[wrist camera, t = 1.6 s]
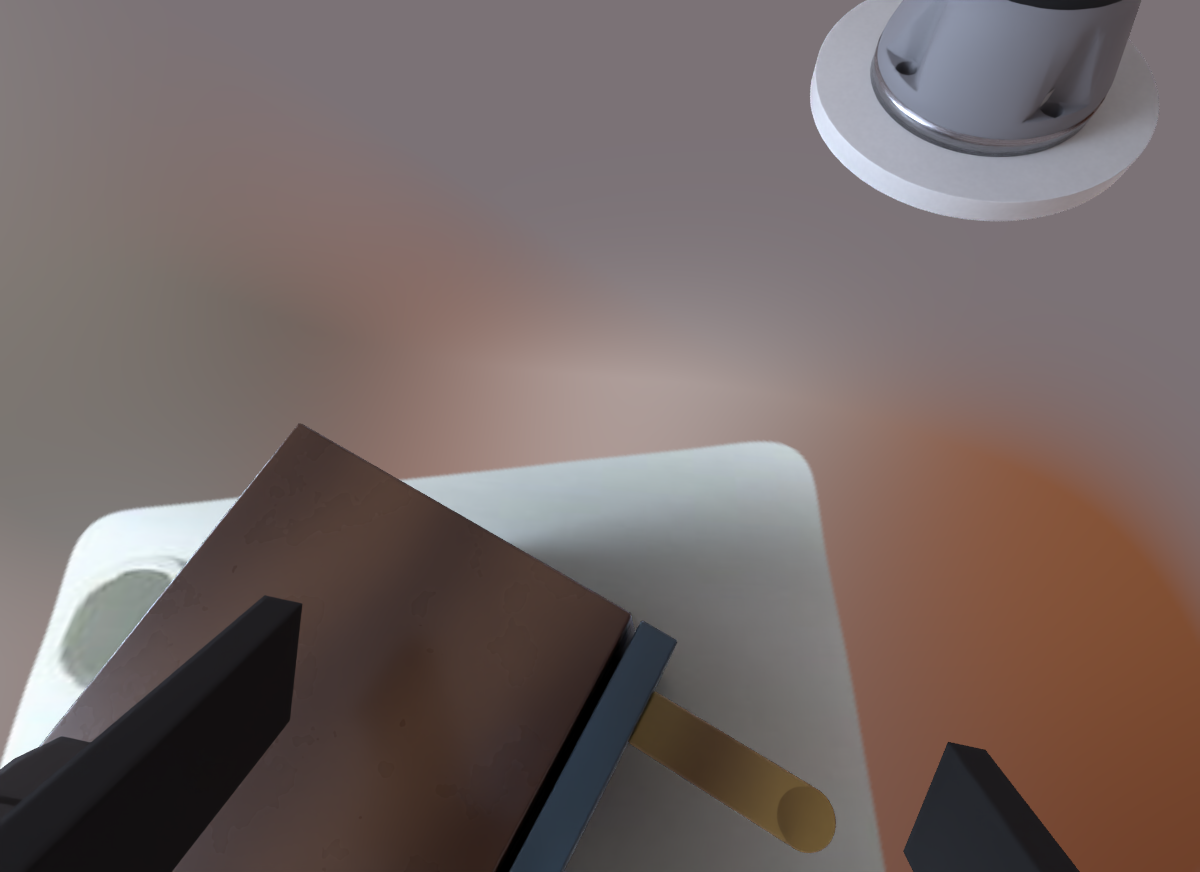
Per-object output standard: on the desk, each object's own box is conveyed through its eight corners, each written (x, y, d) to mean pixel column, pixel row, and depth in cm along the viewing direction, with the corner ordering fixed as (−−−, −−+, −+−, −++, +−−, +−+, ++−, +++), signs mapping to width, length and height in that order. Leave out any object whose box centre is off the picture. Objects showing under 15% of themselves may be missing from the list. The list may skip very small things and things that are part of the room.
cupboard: (640, 658, 31) (632, 613, 15) (484, 961, 26) (248, 1334, 11) (461, 552, 34) (298, 421, 18) (293, 810, 29) (-113, 933, 14)
